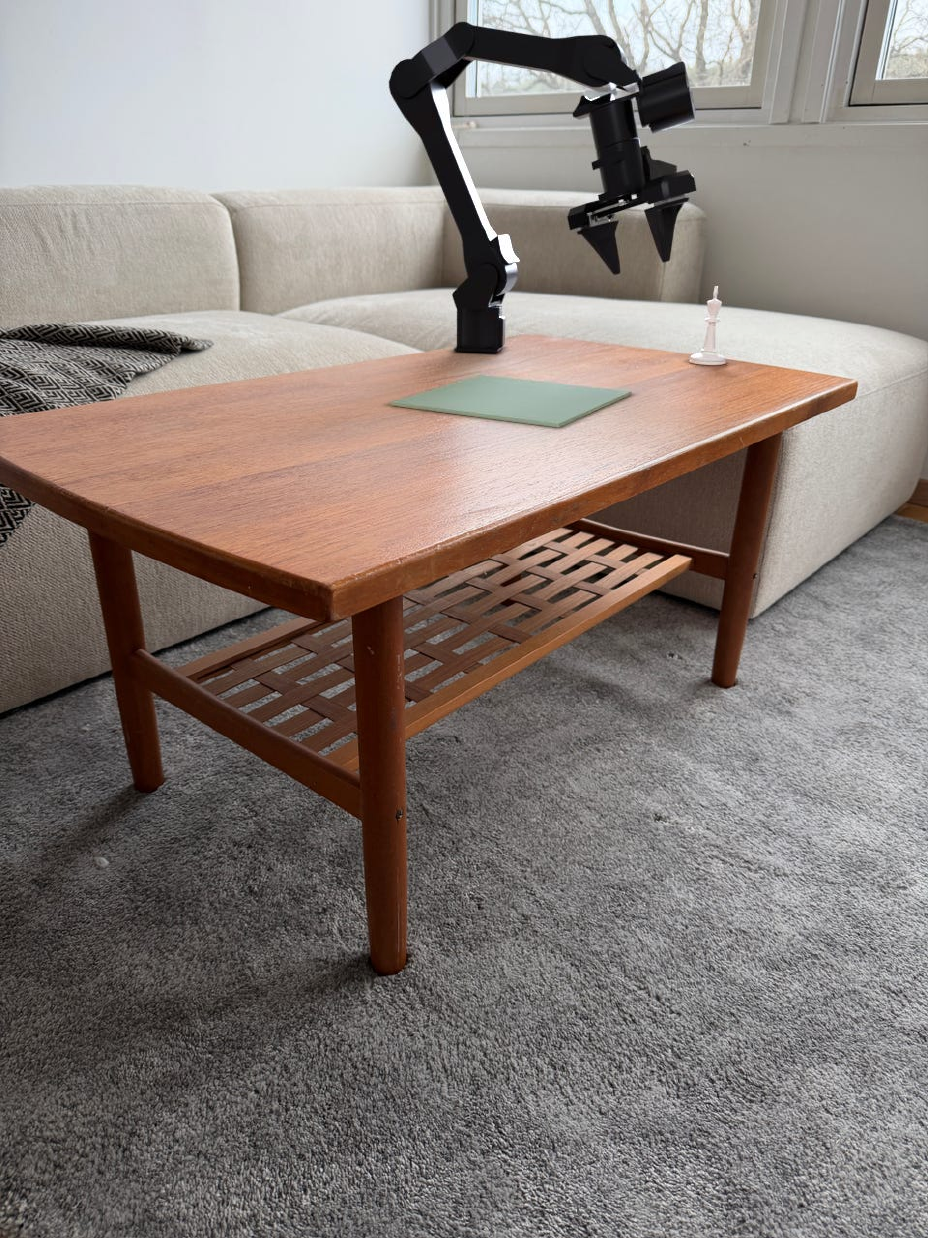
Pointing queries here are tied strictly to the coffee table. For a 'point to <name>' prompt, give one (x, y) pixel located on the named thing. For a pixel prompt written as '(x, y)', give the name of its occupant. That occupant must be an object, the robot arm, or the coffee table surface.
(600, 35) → the robot arm
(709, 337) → the chess piece
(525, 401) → the felt mat
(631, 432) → the coffee table surface
